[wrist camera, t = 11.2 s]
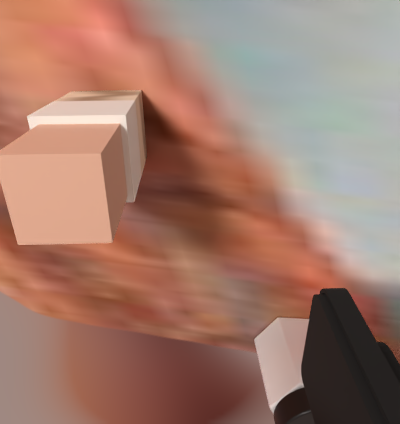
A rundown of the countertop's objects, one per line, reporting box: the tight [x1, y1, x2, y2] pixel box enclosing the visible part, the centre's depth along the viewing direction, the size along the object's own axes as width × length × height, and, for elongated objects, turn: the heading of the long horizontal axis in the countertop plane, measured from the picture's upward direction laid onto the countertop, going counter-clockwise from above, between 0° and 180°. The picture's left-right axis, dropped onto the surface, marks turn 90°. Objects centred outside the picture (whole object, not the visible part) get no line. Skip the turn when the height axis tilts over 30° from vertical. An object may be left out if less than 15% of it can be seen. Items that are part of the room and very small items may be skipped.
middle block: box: [27, 100, 142, 202], centre depth 26 cm, size 6×6×5 cm
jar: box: [254, 317, 315, 424], centre depth 40 cm, size 9×8×12 cm
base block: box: [56, 90, 147, 174], centre depth 30 cm, size 6×6×5 cm
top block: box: [0, 123, 128, 245], centre depth 21 cm, size 5×5×6 cm
